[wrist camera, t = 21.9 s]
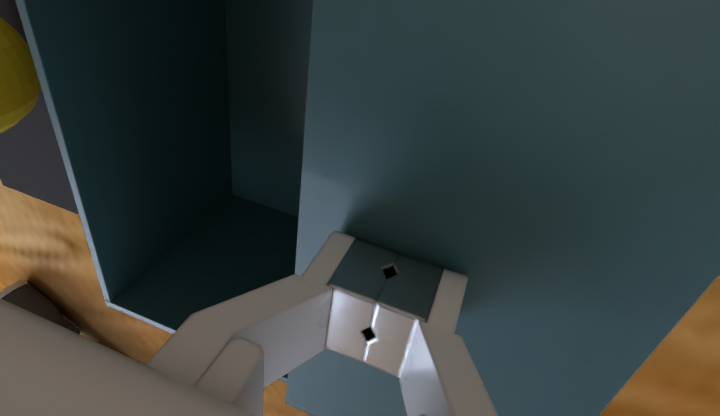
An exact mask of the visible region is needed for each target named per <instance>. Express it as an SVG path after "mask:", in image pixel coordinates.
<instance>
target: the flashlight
mask: <svg viewBox="0 0 720 416" xmlns="http://www.w3.org/2000/svg"><path fill="white" fill-rule="evenodd" d="M0 299H3V300H5V301H7V302H9V303H11V304H14V305H16V306H18V307H20V308H22V309H25V310H27V311H29V312H31V313H33V314H35V315H38V316H40V317H42V318H44V319H46V320H49V321H51V322H53V323H55V324H57V325H60V326H62V327H64V328H66V329H68V330H71V331H73V332H75V333H77V334H80V329H79V328H75V325H74V324H70V321H69V320H65V319H64V318H63V316H62V315H61V313H60V312H59V311H58V309H57V308H56V306H55V305H54V304H53V303H52V302H51V301H50V300H48V299H47V298H46V297H45V296H43V295H42V294H41V293H40V292H38V291H37V290H36V289H35V288H33V287H32V286H31V285H30V284H29V283H27V282H26V281H25V280H20V281H18V282H16V283H14V284H12V285H10V286H8V287H7V288H5V289H4V290H2V291H1V292H0Z"/></svg>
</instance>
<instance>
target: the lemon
mask: <svg viewBox="0 0 720 416" xmlns="http://www.w3.org/2000/svg"><path fill="white" fill-rule="evenodd" d="M40 88H41V85H40V82H39V78H38V75H37V72H36V68H35V65H34V61H33V58H32V55H31V51H30V48H29V45H28V44H27V43H26V42H25V41H24V39H23V38H22V37H21V35H20V34H19V33H18V32H17V31H16V30H15V29H14V28H13V27H12V26H11V25H10V24H9V23H7V22H6V21H5V20H4V19H3V18H1V17H0V133H2V132H4V131H6V130H7V129H9V128H11V127H13V126H14V125H15V124H16V123H18V122H19V121H20V120H21V119H22V118H23V117H24V116H26V115H27V114H28V113H29V112H30V111H31V110H32V109H33V107H34V106H35V105H36V102H37V99H38V96H39V92H40Z"/></svg>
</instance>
